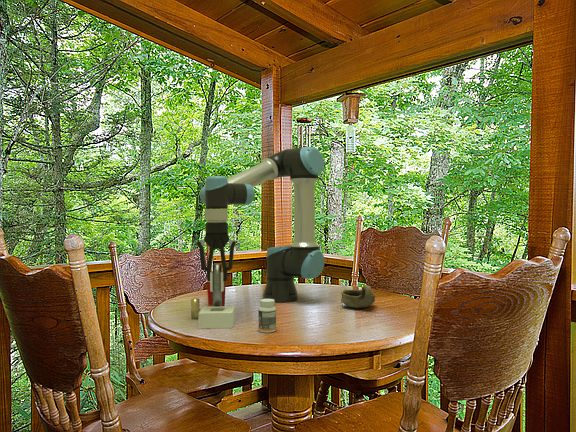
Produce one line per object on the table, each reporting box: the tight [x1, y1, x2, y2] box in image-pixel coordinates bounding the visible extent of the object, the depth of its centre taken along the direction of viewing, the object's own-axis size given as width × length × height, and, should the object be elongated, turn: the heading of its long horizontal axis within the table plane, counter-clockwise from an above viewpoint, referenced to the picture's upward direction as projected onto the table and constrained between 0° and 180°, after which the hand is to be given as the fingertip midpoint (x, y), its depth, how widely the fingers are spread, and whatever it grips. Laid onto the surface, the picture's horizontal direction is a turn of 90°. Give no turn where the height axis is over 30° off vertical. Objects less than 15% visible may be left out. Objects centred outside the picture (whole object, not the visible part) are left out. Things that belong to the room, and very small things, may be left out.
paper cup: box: [205, 279, 227, 306], centre depth 171 cm, size 8×8×14 cm
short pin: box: [190, 297, 201, 320], centre depth 164 cm, size 3×3×7 cm
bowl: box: [340, 285, 376, 309], centre depth 179 cm, size 14×18×10 cm
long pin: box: [212, 263, 223, 307], centre depth 155 cm, size 3×3×14 cm
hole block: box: [198, 305, 236, 330], centre depth 156 cm, size 11×11×5 cm
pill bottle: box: [257, 298, 277, 334], centre depth 147 cm, size 6×6×10 cm
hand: (217, 290), depth 156 cm, fingers closed on long pin, 3 cm apart
